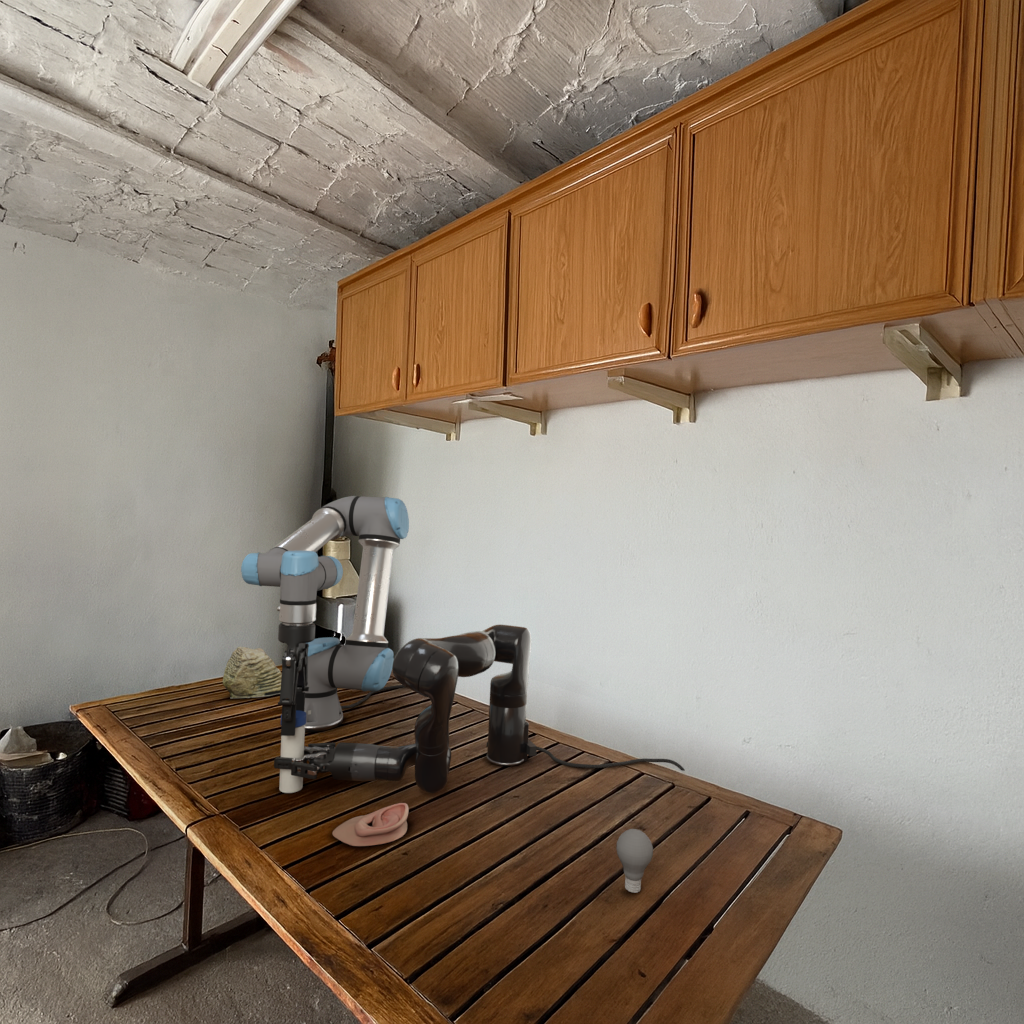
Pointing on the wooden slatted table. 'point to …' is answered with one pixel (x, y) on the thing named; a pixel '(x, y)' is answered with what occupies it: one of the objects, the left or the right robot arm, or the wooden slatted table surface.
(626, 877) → the light bulb
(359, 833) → the anatomical model
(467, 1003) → the wooden slatted table surface
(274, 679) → the fossil
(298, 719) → the lid
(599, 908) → the wooden slatted table surface
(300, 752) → the white bottle
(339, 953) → the wooden slatted table surface
